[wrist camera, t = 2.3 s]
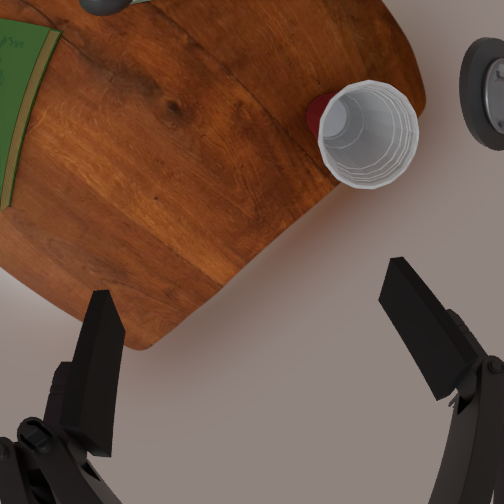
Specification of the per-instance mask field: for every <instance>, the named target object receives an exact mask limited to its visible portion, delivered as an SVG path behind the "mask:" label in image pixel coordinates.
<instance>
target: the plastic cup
mask: <svg viewBox="0 0 504 504" xmlns="http://www.w3.org/2000/svg"><path fill="white" fill-rule="evenodd" d="M306 121H307V125H308V128H309V130H310V131H311V132H312V133H313V136H314V137H315V138H316V140H317V141H318V144H319V148H320V151H321V154H322V158H323V161H324V164H325V165H326V166H327V168H328V169H329V170H330V171H331V172H332V174H333V175H334V176H335V177H336V179H337V180H339V181H341V182H343V183H345V184H347V185H349V186H351V187H354V188H362V189H375V188H378V187H381V186H384V185H386V184H390V183H392V182H393V181H394V180H395V179H396V178H397V177H399V176H400V175H401V174H402V173H403V172H405V171H406V169H407V168H408V166H409V164H410V163H411V161H412V159H413V157H414V155H415V154H416V149H417V144H418V138H419V129H418V122H417V116H416V113H415V111H414V109H413V108H412V106H411V104H410V103H409V101H408V99H407V98H406V96H405V95H403V94H402V93H401V92H399V91H398V90H397V89H395V88H394V87H393V86H391V85H390V84H387V83H382V82H377V81H372V80H367V81H362V82H358V83H354V84H350V85H348V86H346V87H345V88H344V89H343V90H341V91H336V92H332V93H329V94H324V95H321V96H318V97H317V98H316V99H314V100H313V101H312V102H311V103H310V105H309V107H308V109H307V111H306Z"/></svg>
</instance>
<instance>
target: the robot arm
mask: <svg viewBox="0 0 504 504" xmlns="http://www.w3.org/2000/svg"><path fill="white" fill-rule="evenodd" d="M481 99H482V106H483V111H484V114H485V117H486V119H487V121H488V123H489V125H490V126H491V127H492V128H493V129H494V130H495V131H497V132H500V133H502V134H504V58H495V59H493V60H491V61H490V62H489V64H488V65H487V67H486V69H485V71H484V74H483V78H482V85H481ZM378 301H379V302H380V304H381V305H382V307H383V309H384V310H385V312H386V313H387V315H388V317H389V318H390V320H391V321H392V323H393V325H394V326H395V328H396V330H397V331H398V333H399V335H400V336H401V338H402V340H403V341H404V343H405V345H406V347H407V348H408V350H409V352H410V353H411V355H412V357H413V359H414V360H415V362H416V364H417V366H418V367H419V369H420V371H421V373H422V374H423V376H424V378H425V380H426V382H427V384H428V385H429V387H430V389H431V391H432V393H433V395H434V397H435V398H436V400H437V401H438V400H440V399H443V398H445V397H447V396H449V395H450V394H451V393H452V392H453V391H454V389H455V388H456V389H457V390H458V393H457V394H456V396H455V397H454V398H453V399H452V400H451V401H450V403H449V405H448V406H449V407H450V406H451V405H452V404H453V403H454V402H455V404H454V406H453V408H454V410H453V415H452V420H451V425H450V430H449V434H448V439H447V443H446V447H445V451H444V455H443V458H442V462H441V466H440V469H439V472H438V476H437V479H436V482H435V485H434V488H433V491H432V494H431V498H430V500H429V503H428V504H490V502H491V498H492V494H493V490H494V500H493V504H504V362H503V361H502V360H500V359H499V358H498V357H496V356H491V355H490V356H488V355H487V354H486V352H485V351H484V349H483V348H482V347H481V345H480V344H479V342H478V341H477V339H476V338H475V337H474V335H473V334H472V332H470V331H469V329H468V327H467V326H466V325H465V323H464V322H463V320H462V319H461V318H460V316H459V315H458V314H456V313H455V312H454V311H452V310H451V309H447V310H445V308H444V307H443V306H442V305H441V303H440V302H439V301H438V299H437V298H436V297H435V295H434V294H433V293H432V291H431V290H430V289H429V288H428V286H427V285H426V284H425V283H424V282H423V280H422V279H421V278H420V277H419V275H418V274H417V273H416V272H415V271H414V269H413V268H412V267H411V266H410V265H409V263H408V262H407V261H406V260H405V259H404V257H396V258H390V262H389V266H388V269H387V273H386V276H385V280H384V283H383V286H382V290H381V293H380V297H379V300H378ZM124 338H125V329H124V327H123V325H122V322H121V320H120V317H119V315H118V312H117V310H116V307H115V305H114V302H113V300H112V297H111V295H110V292H109V290H98V291H93V294H92V297H91V300H90V303H89V306H88V309H87V312H86V315H85V318H84V322H83V325H82V328H81V332H80V335H79V338H78V342H77V346H76V350H75V353H74V357H73V360H72V362H61V364H60V365H59V366H58V368H57V369H56V371H55V373H54V377H53V381H52V385H51V388H50V394H49V396H48V401H47V406H46V410H45V414H44V419H43V421H42V420H41V419H39V418H37V417H29V418H26V419H24V420H23V422H21V423H20V426H19V427H18V429H17V439H18V442H12V441H11V440H10V439H8V438H6V437H0V500H1V504H122V503H121V501H120V500H119V499H118V498H117V497H116V495H115V494H114V493H113V492H112V491H111V489H110V488H109V487H108V486H107V484H106V483H105V482H104V480H103V479H102V478H101V477H100V475H99V474H98V473H97V471H96V470H95V468H94V467H93V466H92V465H91V463H90V461H89V460H88V459H87V451H88V452H90V453H91V454H92V455H93V456H100V457H111V451H112V437H113V425H114V424H113V423H114V413H115V404H116V395H117V386H118V378H119V371H120V364H121V357H122V350H123V344H124Z"/></svg>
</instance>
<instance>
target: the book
mask: <svg viewBox="0 0 504 504" xmlns="http://www.w3.org/2000/svg"><path fill="white" fill-rule="evenodd" d="M62 32H63V31H60V30H56V29H52V28H48V27H43V26H39V25H34V24H29V23H24V22H19V21H13V20H7V19H1V18H0V213H1V212H2V211H3V210H4V209H5V208H6V207H7V206H8V207H11V200H12V194H13V188H14V182H15V176H16V171H17V166H18V161H19V157H20V152H21V148H22V144H23V140H24V136H25V132H26V128H27V125H28V121H29V118H30V114H31V111H32V108H33V105H34V102H35V99H36V96H37V93H38V90H39V87H40V84H41V82H42V79H43V76H44V74H45V71H46V68H47V66H48V64H49V61H50V59H51V56H52V54H53V52H54V49H55V47H56V45H57V43H58V40H59V38H60V36H61V34H62Z"/></svg>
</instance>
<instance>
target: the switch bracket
mask: <svg viewBox="0 0 504 504" xmlns="http://www.w3.org/2000/svg"><path fill="white" fill-rule="evenodd" d="M145 1H150V0H133V1H132V2H131V3H130V4H135V3H140V2H145Z"/></svg>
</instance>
